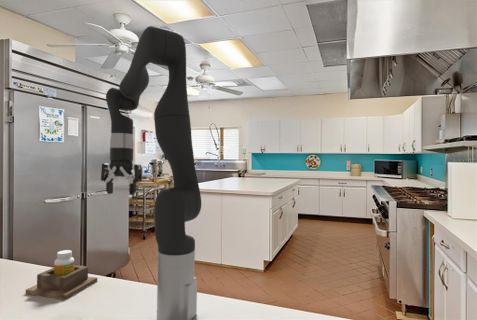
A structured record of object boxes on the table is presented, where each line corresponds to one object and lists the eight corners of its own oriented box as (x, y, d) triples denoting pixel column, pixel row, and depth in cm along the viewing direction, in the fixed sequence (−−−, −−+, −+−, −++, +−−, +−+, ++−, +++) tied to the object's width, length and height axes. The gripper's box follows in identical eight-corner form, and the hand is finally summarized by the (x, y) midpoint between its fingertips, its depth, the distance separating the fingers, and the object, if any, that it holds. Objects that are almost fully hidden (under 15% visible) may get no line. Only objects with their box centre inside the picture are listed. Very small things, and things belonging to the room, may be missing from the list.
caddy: (97, 281, 96) (97, 265, 96) (65, 299, 83) (66, 281, 83) (61, 276, 99) (61, 261, 99) (25, 293, 86) (25, 276, 86)
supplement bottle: (64, 287, 88) (65, 255, 88) (49, 285, 89) (50, 253, 89) (77, 280, 93) (78, 250, 93) (63, 278, 94) (63, 248, 94)
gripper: (96, 146, 99) (95, 194, 99) (134, 146, 96) (133, 196, 96) (110, 147, 106) (109, 192, 106) (146, 147, 103) (145, 193, 103)
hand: (120, 194), depth 101 cm, fingers open, 8 cm apart
